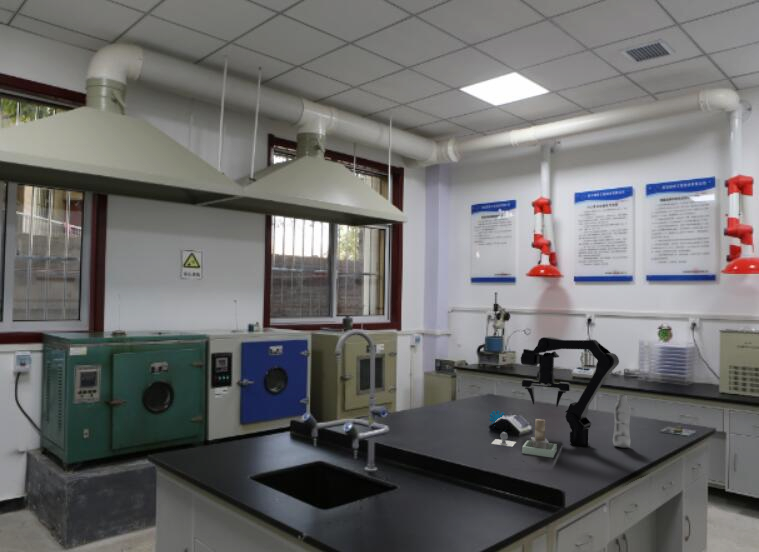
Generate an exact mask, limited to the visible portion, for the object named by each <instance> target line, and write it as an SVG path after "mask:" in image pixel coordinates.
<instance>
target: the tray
mask: <svg viewBox="0 0 759 552" xmlns="http://www.w3.org/2000/svg"><path fill="white" fill-rule="evenodd" d="M557 448H558V444H557V443H550V442H549V447H548V449H541V448H533V447H531V439H530V440H526V441H525V442H524V444H523V445H522V449H521V453H522V454H526V455H531V456H539V457H545V458H546V457H547V458H554V457H555V455H556V453H557Z"/></svg>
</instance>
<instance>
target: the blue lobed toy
mask: <svg viewBox="0 0 759 552" xmlns="http://www.w3.org/2000/svg"><path fill="white" fill-rule="evenodd" d="M505 414H506V413H505V412H503V411H502V412H500V410H496V411H495V410H492V411H491V413H490V414H489V415H488V416H489V419H488V421H489V422H491V425H492V424H493V423H495V421H496V420H497V419H498V418H500V417H502V416H504V415H505Z"/></svg>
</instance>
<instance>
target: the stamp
mask: <svg viewBox="0 0 759 552" xmlns="http://www.w3.org/2000/svg"><path fill="white" fill-rule="evenodd" d="M534 423H535V425H534V436H532V437H530V441H531V447H533V448H541V449H548V447H549V443H550V442H549V440H548V438H546V420H545V419H544V418H543V419H542V418H535V421H534Z"/></svg>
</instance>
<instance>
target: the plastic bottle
mask: <svg viewBox="0 0 759 552" xmlns="http://www.w3.org/2000/svg"><path fill="white" fill-rule="evenodd" d="M616 400H617V402H616V403H615V405H613V406H614V407H613V416H614V429H613V434H612V435H613V436H612V443H613V446H615V447H618V448H623V449H624V448H626V449H627V448H629V447H630V446H631V442H632V441H631V436H630V419H631V415H632V408H631V406H630V404H629V403H628V400H629V399H628V395H625V394H617V399H616Z"/></svg>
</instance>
